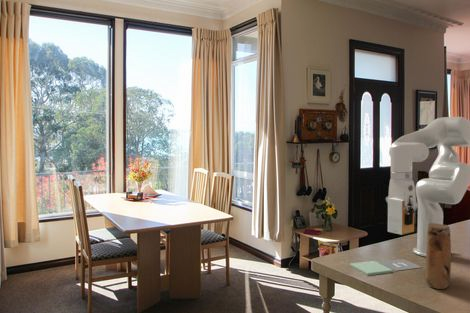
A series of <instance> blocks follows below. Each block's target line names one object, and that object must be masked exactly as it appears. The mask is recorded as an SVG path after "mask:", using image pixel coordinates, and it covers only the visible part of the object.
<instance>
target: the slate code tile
mask: <svg viewBox="0 0 470 313" xmlns="http://www.w3.org/2000/svg"><path fill="white" fill-rule="evenodd" d="M378 263H380V264H382V265H384V266H386V267H388V268H390V269H392V270H393V272H399V271H407V270H415V269H422V268H423V267H422V266H420V265H418V264H416V263H413V262H411V261H408V260H406V259H404V258H403V259H402V258H401V259H393V260H385V261H378Z"/></svg>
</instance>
